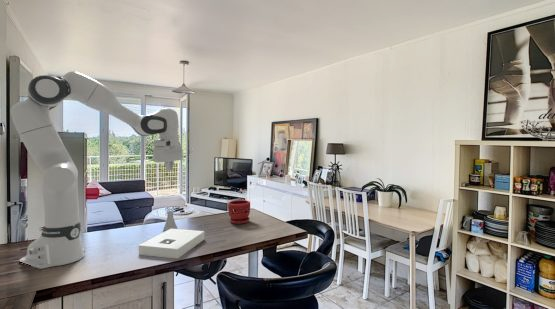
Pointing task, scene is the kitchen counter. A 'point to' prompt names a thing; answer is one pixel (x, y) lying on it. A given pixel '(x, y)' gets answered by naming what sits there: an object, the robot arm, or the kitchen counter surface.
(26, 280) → the kitchen counter surface
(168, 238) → the hole board
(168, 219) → the flask
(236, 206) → the plant pot
